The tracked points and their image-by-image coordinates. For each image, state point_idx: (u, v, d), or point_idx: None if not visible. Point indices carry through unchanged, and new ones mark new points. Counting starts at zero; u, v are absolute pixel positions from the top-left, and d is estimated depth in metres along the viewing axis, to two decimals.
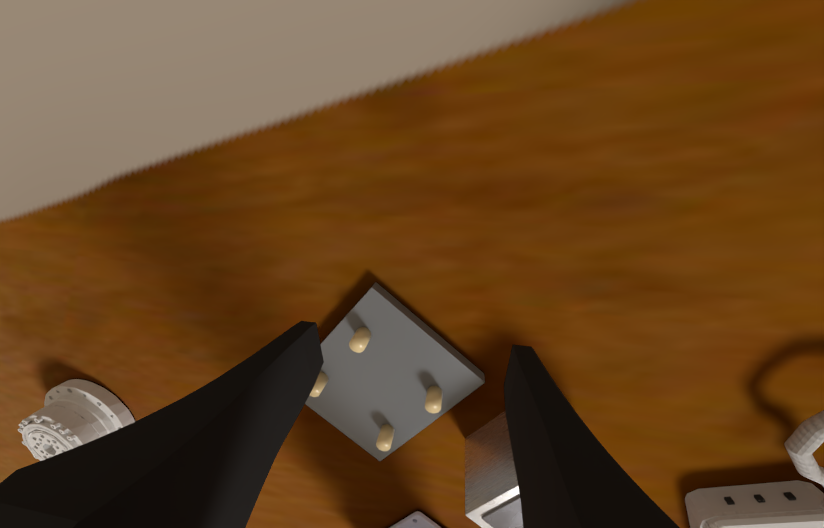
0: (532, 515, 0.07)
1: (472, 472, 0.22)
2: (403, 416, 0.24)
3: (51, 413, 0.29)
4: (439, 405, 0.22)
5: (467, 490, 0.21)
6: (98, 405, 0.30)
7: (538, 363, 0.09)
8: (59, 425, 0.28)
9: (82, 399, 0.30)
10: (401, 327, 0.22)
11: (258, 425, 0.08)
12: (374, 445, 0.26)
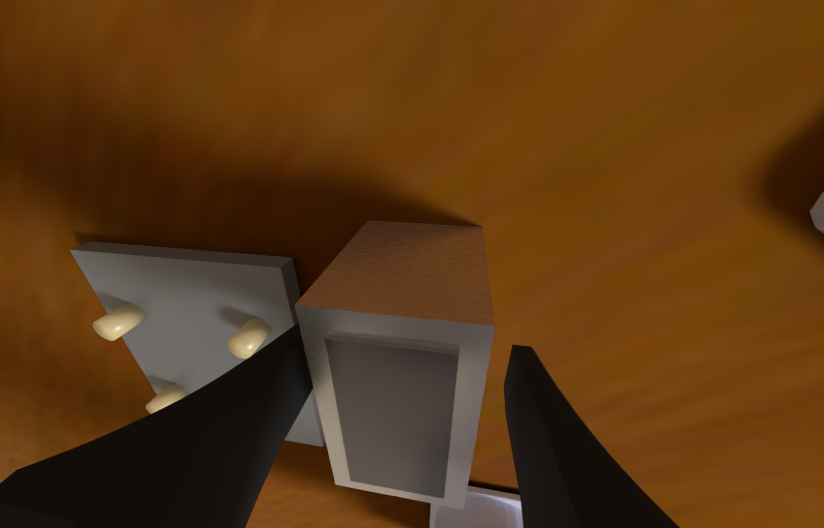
0: (532, 515, 0.07)
1: None
2: None
3: None
4: (241, 341, 0.13)
5: None
6: None
7: (538, 363, 0.09)
8: None
9: None
10: (141, 274, 0.14)
11: (258, 425, 0.08)
12: (297, 432, 0.19)
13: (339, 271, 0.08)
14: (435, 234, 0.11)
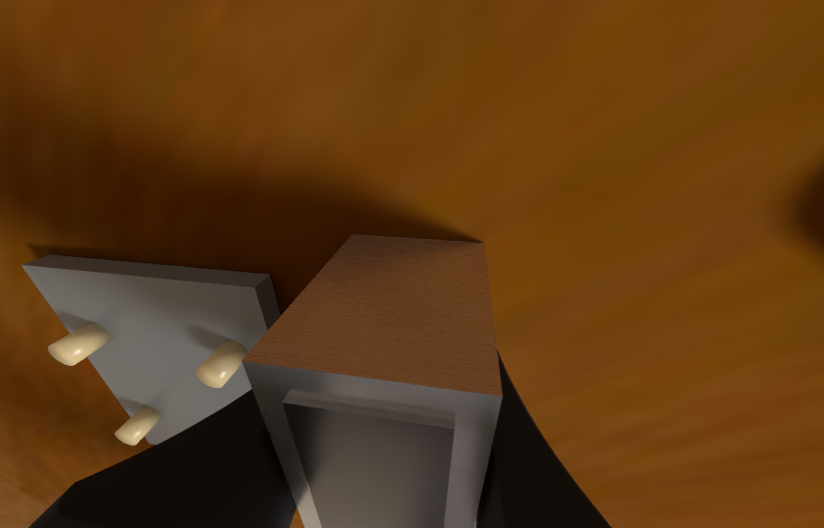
0: (480, 505, 0.07)
1: None
2: None
3: None
4: (211, 369, 0.12)
5: None
6: None
7: None
8: None
9: None
10: (102, 292, 0.13)
11: None
12: None
13: (308, 307, 0.07)
14: (429, 253, 0.09)
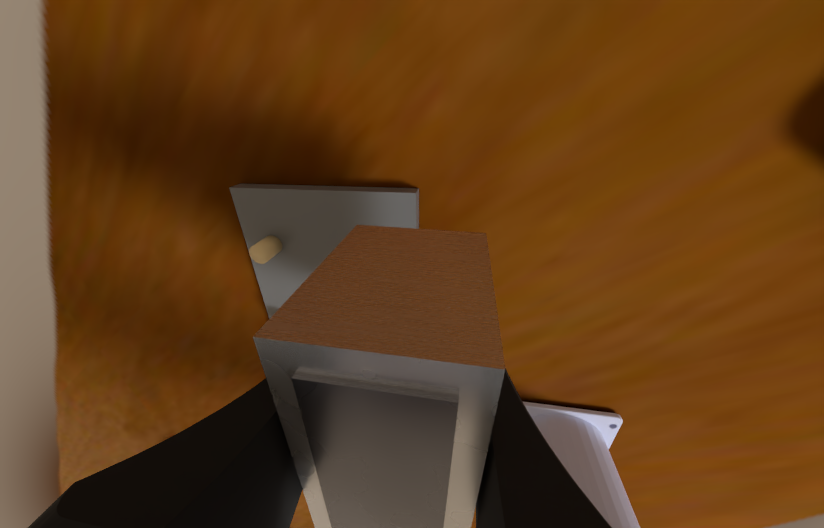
0: (480, 505, 0.07)
1: None
2: None
3: None
4: None
5: None
6: None
7: None
8: None
9: None
10: (289, 206, 0.17)
11: None
12: None
13: (316, 290, 0.07)
14: (432, 242, 0.09)
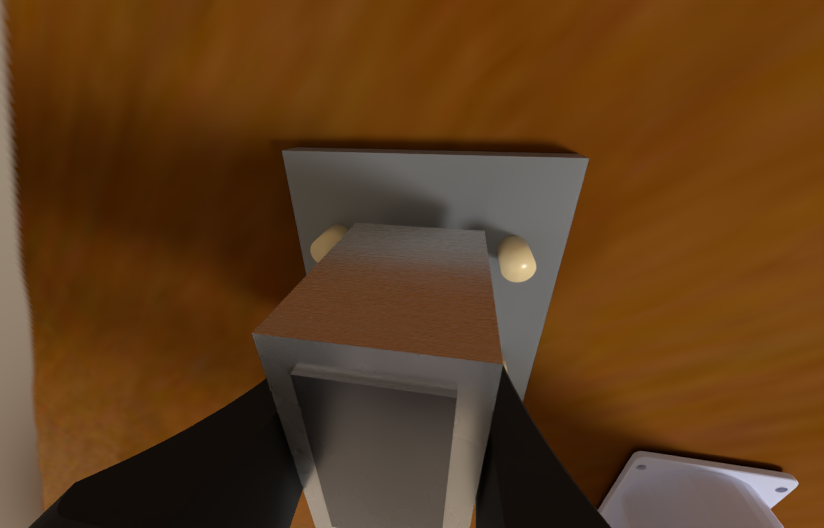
0: (480, 505, 0.07)
1: None
2: (498, 324, 0.14)
3: None
4: (527, 256, 0.10)
5: None
6: None
7: None
8: None
9: None
10: (373, 180, 0.11)
11: None
12: None
13: (315, 287, 0.07)
14: (431, 240, 0.09)
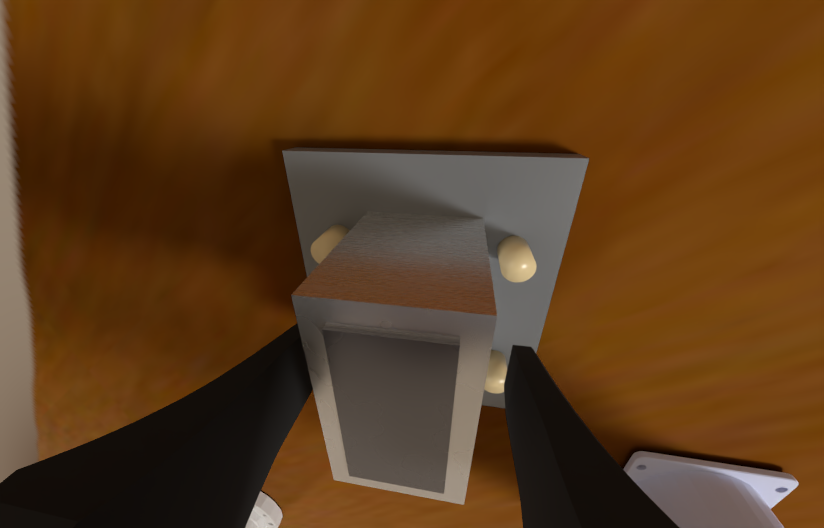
0: (532, 515, 0.07)
1: None
2: (498, 324, 0.14)
3: None
4: (527, 256, 0.10)
5: None
6: None
7: (538, 363, 0.09)
8: None
9: None
10: (373, 180, 0.11)
11: (258, 425, 0.08)
12: (494, 392, 0.16)
13: (338, 261, 0.08)
14: (435, 225, 0.11)
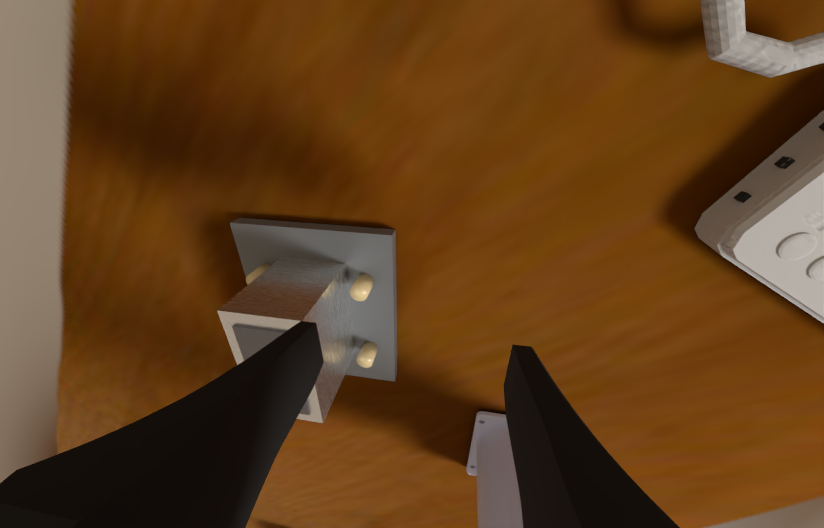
0: (532, 515, 0.07)
1: None
2: (368, 325, 0.22)
3: None
4: (361, 287, 0.18)
5: None
6: None
7: (538, 363, 0.09)
8: None
9: None
10: (282, 241, 0.20)
11: (258, 425, 0.08)
12: (376, 369, 0.24)
13: (246, 292, 0.16)
14: (313, 269, 0.19)
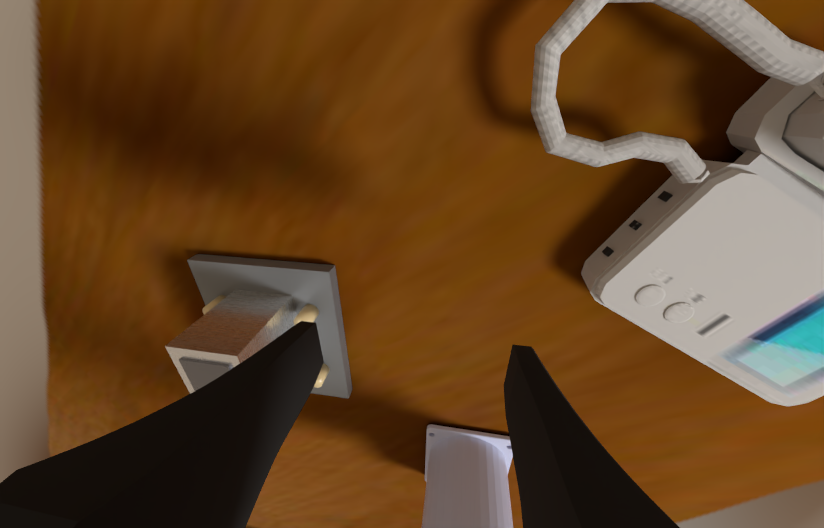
0: (532, 515, 0.07)
1: None
2: None
3: None
4: (303, 318, 0.21)
5: None
6: None
7: (538, 363, 0.09)
8: None
9: None
10: (234, 275, 0.22)
11: (258, 425, 0.08)
12: (330, 387, 0.26)
13: (195, 327, 0.19)
14: (261, 301, 0.21)
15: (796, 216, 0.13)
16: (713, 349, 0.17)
